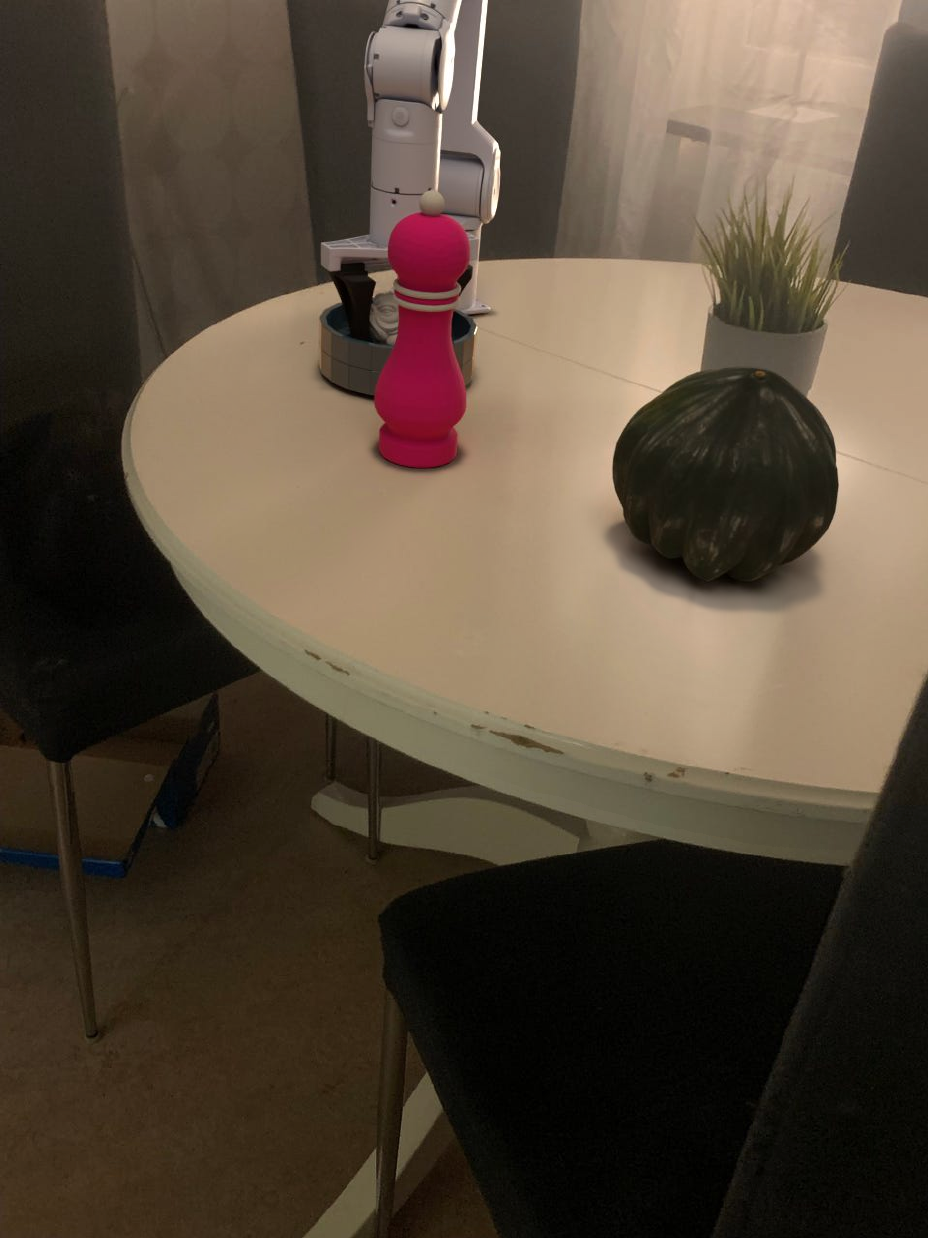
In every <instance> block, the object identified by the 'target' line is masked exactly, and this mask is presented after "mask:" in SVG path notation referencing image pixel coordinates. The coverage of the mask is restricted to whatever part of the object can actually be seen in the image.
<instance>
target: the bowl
mask: <svg viewBox="0 0 928 1238" xmlns="http://www.w3.org/2000/svg"><path fill="white" fill-rule="evenodd" d="M373 299H374V297H373V298H372V304H373ZM318 324H319V325H318V364H319V369H320V373H321V374H322V375H323V376H324V377H325V378H326V379H328V380H329V381H330V382H331V383H333V384H336V385H337V386H340V387H342V388H344V389H346V390H349V391H353V392H357V393H361V394H366V395H370V396H375V390H376V385H377V382H378V379H379V376H380V373H381V371H382V369H383V367H384V365H385V364H386V362H387V360H388V358H389V356H390V354H391V352H392V350H393V347H394V346H391V345H382V344H374V343H373V339H372V338H371V337H370V336H369V342H365V341H361V340H357V339H353V338H351V335H350V330H349V325H348V321H347V317H346V313H345V310H344V307H343V304H342V301H340V302H337V303H335V304H333V305H330V306H329V307H327V308H325V309H324V310H323V311H322V313H321V314H320V315H319V317H318ZM477 334H478V325H477V324H476V322H475V320H474V319H473V317H471V316H469V314H467V315H466V314H465V313H463V312H461V311H459V310H456V309H454V310H453V315H452V321H451V338H452V345H453V350H454V353H455V356H456V359H457V362H458V365H459V368H460V370H461V373H462V376H463V379H464V384H465V386H467V385H468V384H469V383H471V381H472V379H473V376H474V373H475V372H474V371H475V361H476V360H475V359H476V349H477Z"/></svg>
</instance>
